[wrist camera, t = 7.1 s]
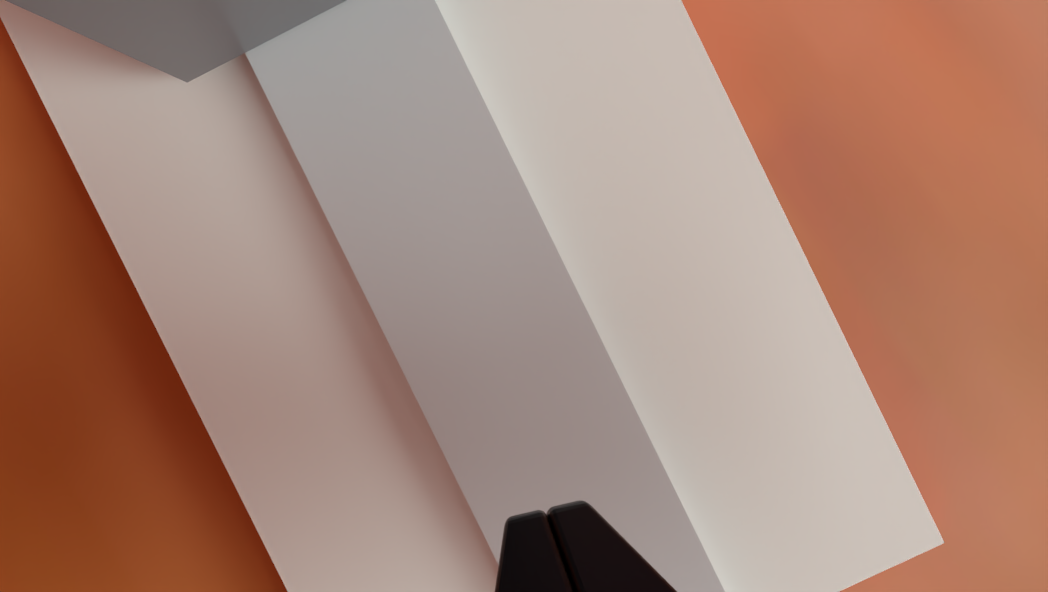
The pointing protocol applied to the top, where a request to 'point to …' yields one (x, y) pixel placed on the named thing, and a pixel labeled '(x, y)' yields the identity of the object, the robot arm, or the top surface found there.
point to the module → (179, 27)
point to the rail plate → (486, 295)
